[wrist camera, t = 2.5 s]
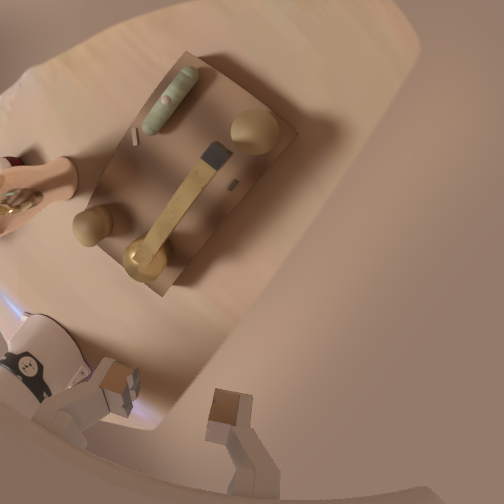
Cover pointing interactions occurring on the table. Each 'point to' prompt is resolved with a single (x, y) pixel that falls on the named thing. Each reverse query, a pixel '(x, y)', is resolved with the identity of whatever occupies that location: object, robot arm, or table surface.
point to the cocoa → (10, 162)
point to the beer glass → (33, 190)
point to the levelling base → (181, 163)
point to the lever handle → (172, 218)
